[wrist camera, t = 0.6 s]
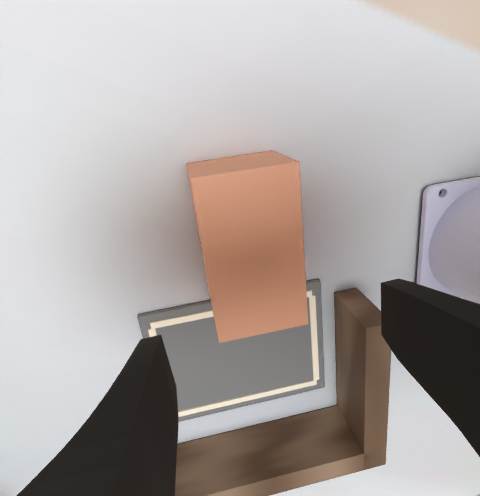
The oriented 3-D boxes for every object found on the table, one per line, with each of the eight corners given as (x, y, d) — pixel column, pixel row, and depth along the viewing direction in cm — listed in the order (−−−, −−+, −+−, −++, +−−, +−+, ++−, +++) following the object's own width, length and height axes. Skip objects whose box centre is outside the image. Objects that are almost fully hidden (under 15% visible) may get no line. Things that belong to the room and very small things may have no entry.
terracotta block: (271, 150, 19) (299, 161, 15) (282, 283, 22) (308, 324, 18) (186, 162, 18) (190, 178, 14) (210, 297, 21) (219, 343, 17)
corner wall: (356, 288, 23) (392, 322, 19) (356, 415, 27) (385, 464, 23) (116, 336, 21) (105, 385, 17) (156, 465, 25) (153, 526, 21)
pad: (318, 278, 22) (321, 281, 21) (323, 384, 25) (325, 388, 25) (137, 314, 20) (137, 318, 20) (166, 420, 24) (166, 425, 23)
